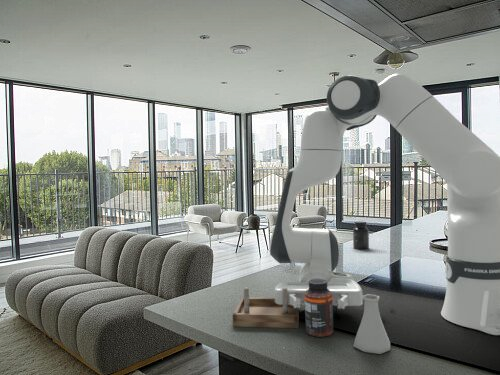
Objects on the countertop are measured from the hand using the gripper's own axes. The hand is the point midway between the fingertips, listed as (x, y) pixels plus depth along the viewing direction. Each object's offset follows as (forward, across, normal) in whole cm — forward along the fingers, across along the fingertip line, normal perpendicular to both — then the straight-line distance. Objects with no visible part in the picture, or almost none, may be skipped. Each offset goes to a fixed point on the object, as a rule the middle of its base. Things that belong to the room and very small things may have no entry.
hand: (318, 305), depth 83 cm
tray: (-8, -12, +6) cm, 16 cm away
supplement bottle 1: (0, 0, +6) cm, 6 cm away
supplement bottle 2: (-94, +23, +6) cm, 97 cm away
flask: (+6, +10, +6) cm, 13 cm away
